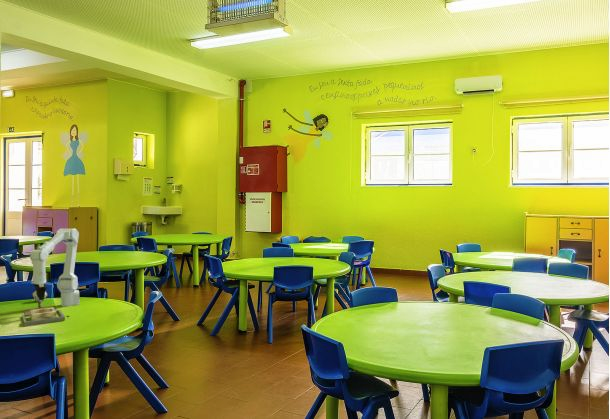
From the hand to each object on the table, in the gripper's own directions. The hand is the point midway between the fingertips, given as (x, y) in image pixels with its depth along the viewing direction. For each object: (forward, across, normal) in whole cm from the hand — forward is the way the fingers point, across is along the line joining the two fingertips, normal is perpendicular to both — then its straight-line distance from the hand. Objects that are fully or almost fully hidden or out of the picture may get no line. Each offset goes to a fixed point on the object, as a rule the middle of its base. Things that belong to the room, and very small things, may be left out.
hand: (40, 298), depth 271 cm
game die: (+10, -42, +3) cm, 43 cm away
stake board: (+9, -10, 0) cm, 14 cm away
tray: (+9, +8, 0) cm, 13 cm away
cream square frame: (+9, +9, 0) cm, 12 cm away
